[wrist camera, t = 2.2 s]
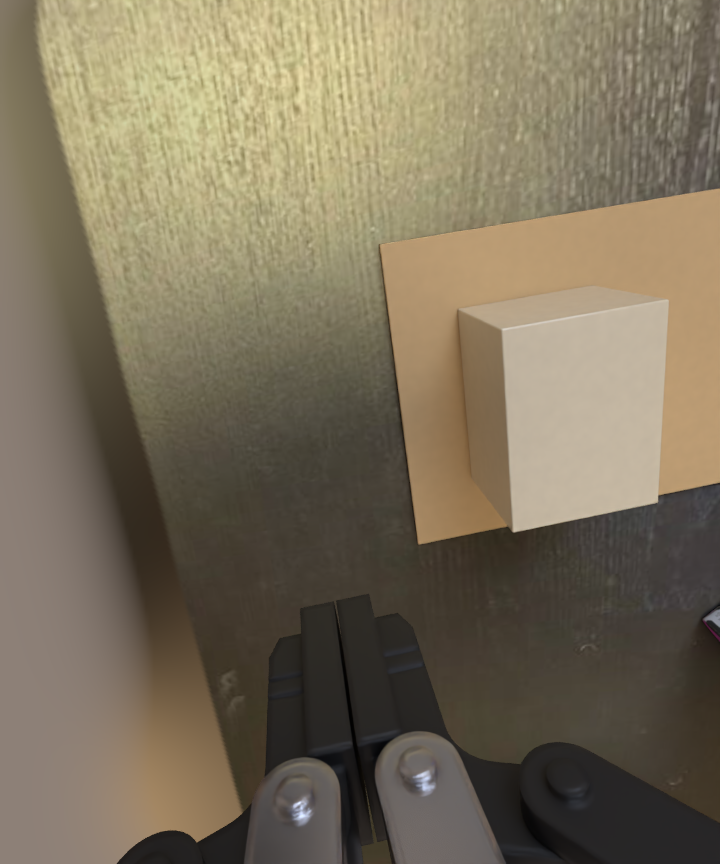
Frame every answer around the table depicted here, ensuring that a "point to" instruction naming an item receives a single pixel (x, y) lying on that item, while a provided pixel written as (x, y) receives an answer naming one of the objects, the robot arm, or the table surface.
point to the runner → (539, 274)
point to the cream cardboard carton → (565, 402)
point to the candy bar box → (713, 622)
